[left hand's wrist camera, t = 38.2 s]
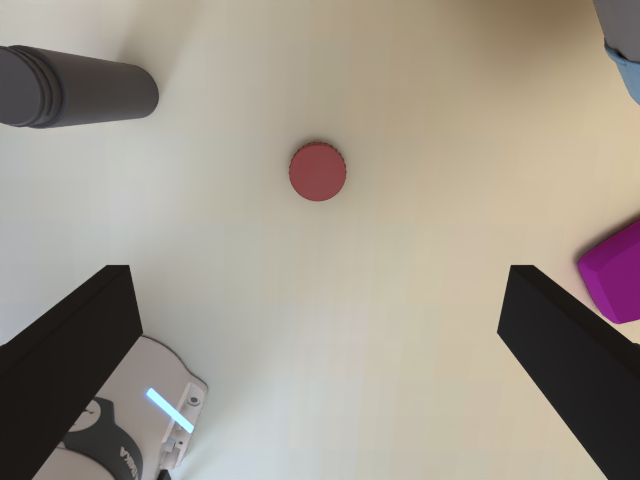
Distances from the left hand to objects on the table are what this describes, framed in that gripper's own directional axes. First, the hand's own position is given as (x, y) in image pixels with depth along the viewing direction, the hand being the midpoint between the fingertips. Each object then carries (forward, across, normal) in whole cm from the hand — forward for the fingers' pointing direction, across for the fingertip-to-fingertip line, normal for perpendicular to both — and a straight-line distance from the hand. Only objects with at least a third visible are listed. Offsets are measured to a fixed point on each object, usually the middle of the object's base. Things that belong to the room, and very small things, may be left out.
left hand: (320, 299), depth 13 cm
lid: (+24, 0, 0) cm, 24 cm away
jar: (+26, +18, -7) cm, 32 cm away
